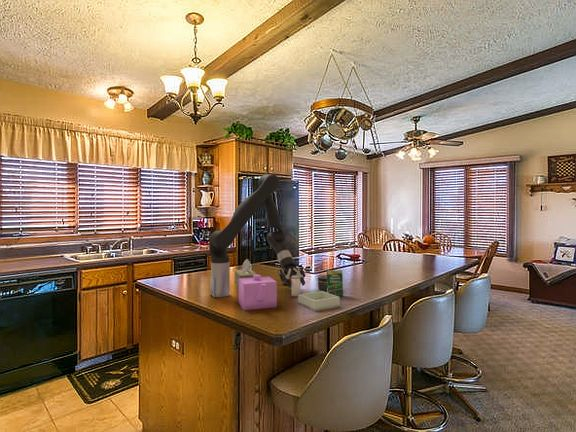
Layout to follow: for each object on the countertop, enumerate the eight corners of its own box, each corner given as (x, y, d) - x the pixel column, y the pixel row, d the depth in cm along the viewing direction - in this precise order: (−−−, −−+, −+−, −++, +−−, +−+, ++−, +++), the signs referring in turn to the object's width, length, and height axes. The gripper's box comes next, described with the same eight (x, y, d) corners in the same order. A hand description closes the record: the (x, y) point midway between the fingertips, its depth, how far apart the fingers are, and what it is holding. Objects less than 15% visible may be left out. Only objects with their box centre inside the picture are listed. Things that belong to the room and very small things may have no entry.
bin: (314, 311, 151) (314, 301, 151) (298, 303, 162) (298, 294, 162) (339, 306, 157) (339, 297, 157) (322, 300, 169) (322, 290, 169)
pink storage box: (247, 315, 146) (247, 281, 146) (236, 300, 170) (236, 271, 169) (281, 311, 151) (281, 279, 150) (266, 297, 174) (266, 270, 174)
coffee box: (327, 296, 176) (327, 271, 175) (326, 295, 178) (326, 270, 178) (343, 296, 176) (343, 271, 175) (342, 295, 178) (342, 270, 178)
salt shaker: (294, 296, 176) (294, 276, 176) (289, 294, 180) (289, 275, 180) (301, 295, 179) (301, 276, 178) (297, 293, 183) (297, 274, 182)
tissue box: (257, 288, 195) (257, 260, 194) (240, 290, 192) (240, 261, 191) (250, 282, 212) (250, 256, 212) (234, 283, 209) (234, 257, 209)
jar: (335, 293, 184) (335, 278, 183) (316, 292, 186) (316, 278, 185) (336, 288, 193) (336, 275, 193) (318, 288, 195) (318, 274, 195)
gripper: (276, 257, 182) (287, 283, 172) (299, 255, 189) (311, 280, 179) (272, 265, 187) (282, 291, 177) (294, 263, 194) (306, 288, 184)
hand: (297, 285), depth 178 cm, fingers open, 7 cm apart
